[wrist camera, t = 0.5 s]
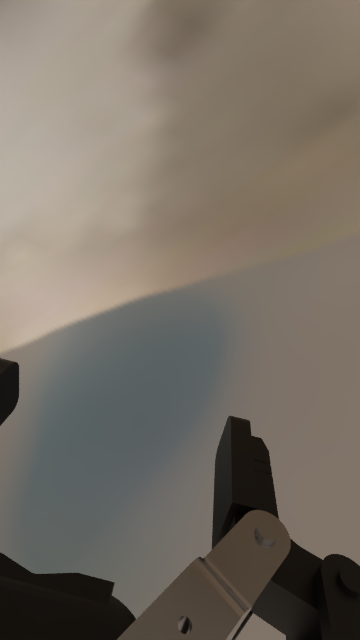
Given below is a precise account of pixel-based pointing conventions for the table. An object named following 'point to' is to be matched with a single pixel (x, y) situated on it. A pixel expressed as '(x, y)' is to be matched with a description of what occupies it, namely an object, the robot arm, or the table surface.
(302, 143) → the table surface
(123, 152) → the table surface
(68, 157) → the table surface
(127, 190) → the table surface
